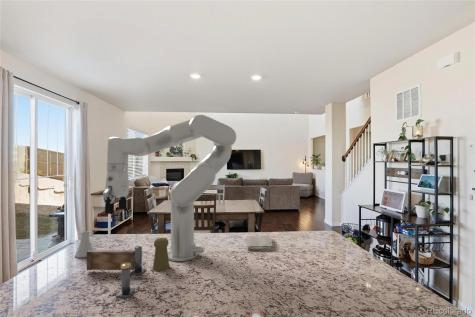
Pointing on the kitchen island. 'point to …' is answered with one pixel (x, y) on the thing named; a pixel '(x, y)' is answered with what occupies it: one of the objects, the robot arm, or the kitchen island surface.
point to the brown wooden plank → (109, 259)
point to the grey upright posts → (125, 274)
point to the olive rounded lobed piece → (161, 255)
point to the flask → (84, 245)
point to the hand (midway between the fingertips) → (116, 211)
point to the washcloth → (259, 243)
